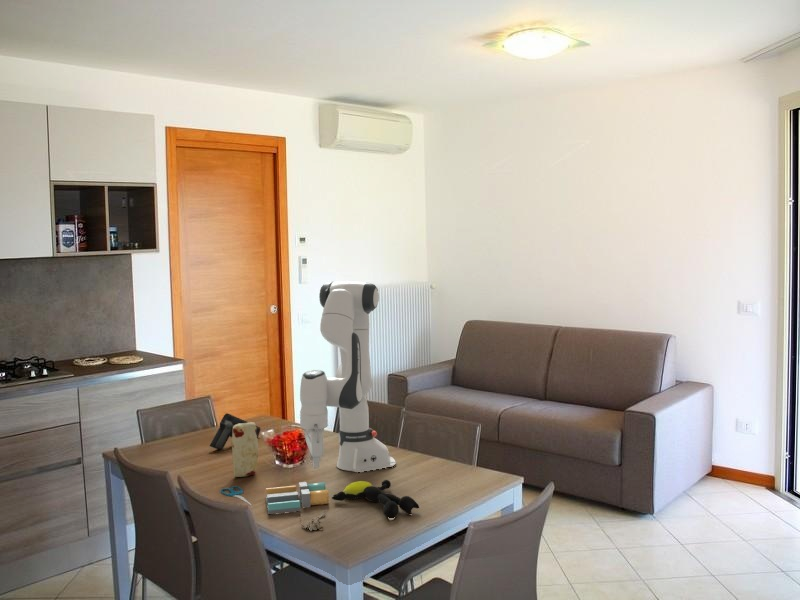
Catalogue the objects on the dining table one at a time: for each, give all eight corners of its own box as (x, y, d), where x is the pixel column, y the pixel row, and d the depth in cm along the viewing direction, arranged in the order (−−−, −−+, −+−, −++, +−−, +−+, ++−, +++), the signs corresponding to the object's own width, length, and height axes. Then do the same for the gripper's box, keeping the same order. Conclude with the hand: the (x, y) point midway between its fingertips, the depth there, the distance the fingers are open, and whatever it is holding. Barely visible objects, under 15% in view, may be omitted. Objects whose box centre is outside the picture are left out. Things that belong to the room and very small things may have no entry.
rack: (296, 495, 240) (295, 485, 239) (300, 511, 225) (300, 501, 225) (266, 498, 237) (265, 488, 237) (268, 515, 223) (268, 504, 222)
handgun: (250, 460, 311) (261, 427, 316) (213, 446, 292) (225, 411, 298) (246, 460, 312) (257, 427, 318) (209, 446, 294) (221, 411, 299)
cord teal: (324, 493, 242) (323, 480, 241) (325, 497, 237) (325, 484, 237) (299, 495, 240) (298, 482, 239) (300, 500, 235) (299, 486, 235)
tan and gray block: (327, 500, 234) (326, 487, 234) (329, 505, 230) (328, 491, 230) (301, 503, 232) (300, 489, 232) (302, 508, 228) (302, 494, 228)
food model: (237, 480, 257) (235, 426, 255) (229, 476, 262) (227, 422, 260) (261, 475, 262) (260, 421, 261) (254, 470, 268) (252, 418, 266)
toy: (438, 507, 227) (379, 488, 250) (437, 488, 227) (378, 471, 250) (382, 527, 212) (324, 505, 235) (381, 507, 212) (323, 487, 234)
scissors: (237, 485, 250) (261, 502, 233) (237, 488, 250) (261, 505, 234) (219, 489, 246) (242, 506, 230) (219, 492, 246) (242, 509, 230)
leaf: (311, 536, 207) (311, 529, 207) (285, 520, 219) (285, 514, 219) (343, 526, 214) (343, 519, 214) (316, 511, 226) (316, 505, 226)
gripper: (328, 428, 220) (328, 472, 221) (319, 413, 240) (320, 454, 241) (307, 429, 218) (308, 473, 219) (301, 414, 238) (301, 455, 239)
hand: (314, 463), depth 230 cm, fingers open, 8 cm apart
